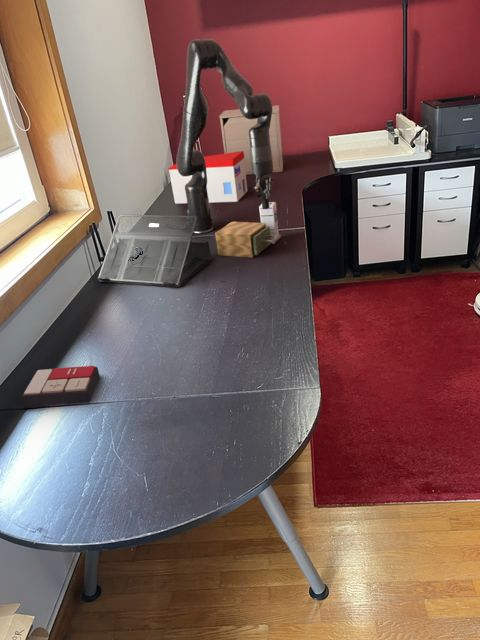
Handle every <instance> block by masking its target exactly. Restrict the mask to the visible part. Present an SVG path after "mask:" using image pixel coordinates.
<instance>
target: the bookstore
mask: <svg viewBox="0 0 480 640" xmlns="http://www.w3.org/2000/svg"><path fill="white" fill-rule="evenodd" d="M204 159H205V163H206V173H207V193H208V199H209V204H210V203H236V202H237V203H238V202H239V201H240V200H241V199H242V197H244V196H245V195H246V193H247V192H248V183H247V175H246V173H245V164H244V151H240V152H233V153H226V154H224V153H219V154H213V155H206V156H204ZM168 172H169V179H170V184H171V190H172V195H173V200H174V204H176V205H177V204H178V205H179V204H187V198H186V192H185V185H186V184H187V183H188V182H189V181H190V180H191V178H192V175H191V176H182V175H180V174H179V172H178V170H177V164H176V163H174V164H173V165H172V166H170V167H168Z"/></svg>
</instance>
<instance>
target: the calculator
mask: <svg viewBox="0 0 480 640" xmlns="http://www.w3.org/2000/svg"><path fill="white" fill-rule="evenodd" d="M99 379H100V372H99V368H98V366H95V365H84V366H70V367H69V366H68V367H54V368H46V369H38V370H36V371H35V373H34V375H33V377H32V378H31V380H30V381H29V383H28V385H27V387H26V388H25V389H24V392H23V393H22V395H21V397H22V400H23V403H24V405H25V408H26V409H34V408H43V407H44V406H48V405H61V404H77V403H78V404H79V403H89V402H90V401H91V400H92V397H93V394H94V393H95V390H96V387H97V384H98V382H99Z"/></svg>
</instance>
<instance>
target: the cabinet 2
mask: <svg viewBox="0 0 480 640" xmlns="http://www.w3.org/2000/svg"><path fill="white" fill-rule="evenodd" d="M265 227H266V223H261V222H247V221H231V222H229V223H228V224H226V225H225V226H223V227H222V228H220V229H218V230H217V231H215V233H214V234H215V235H214V236H215V243H216V248H217V249H216V250H217V255H218V256H224V257H225V256H227V257H236V258H237V257H238V258H248V259H249V258H254V257H256V255H254V251H253V247H252V238H251V236H253V235H254V234H255V233H257V232H258V231H259V230H261V229H262V228H263V229H264V228H265Z"/></svg>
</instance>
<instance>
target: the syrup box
mask: <svg viewBox="0 0 480 640" xmlns="http://www.w3.org/2000/svg"><path fill="white" fill-rule="evenodd" d="M258 210H259V218H260V219H259V220H260V223H266V226H269V227H270V235H273V236H277V235H279V234H280V231H279V220H278V219H279V218H278V210H277V202H276V201H269V208H268V209H263V208H262V203H261V204H260V205H259V206H258ZM270 239H271V240H272V239H274V237H270Z"/></svg>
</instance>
